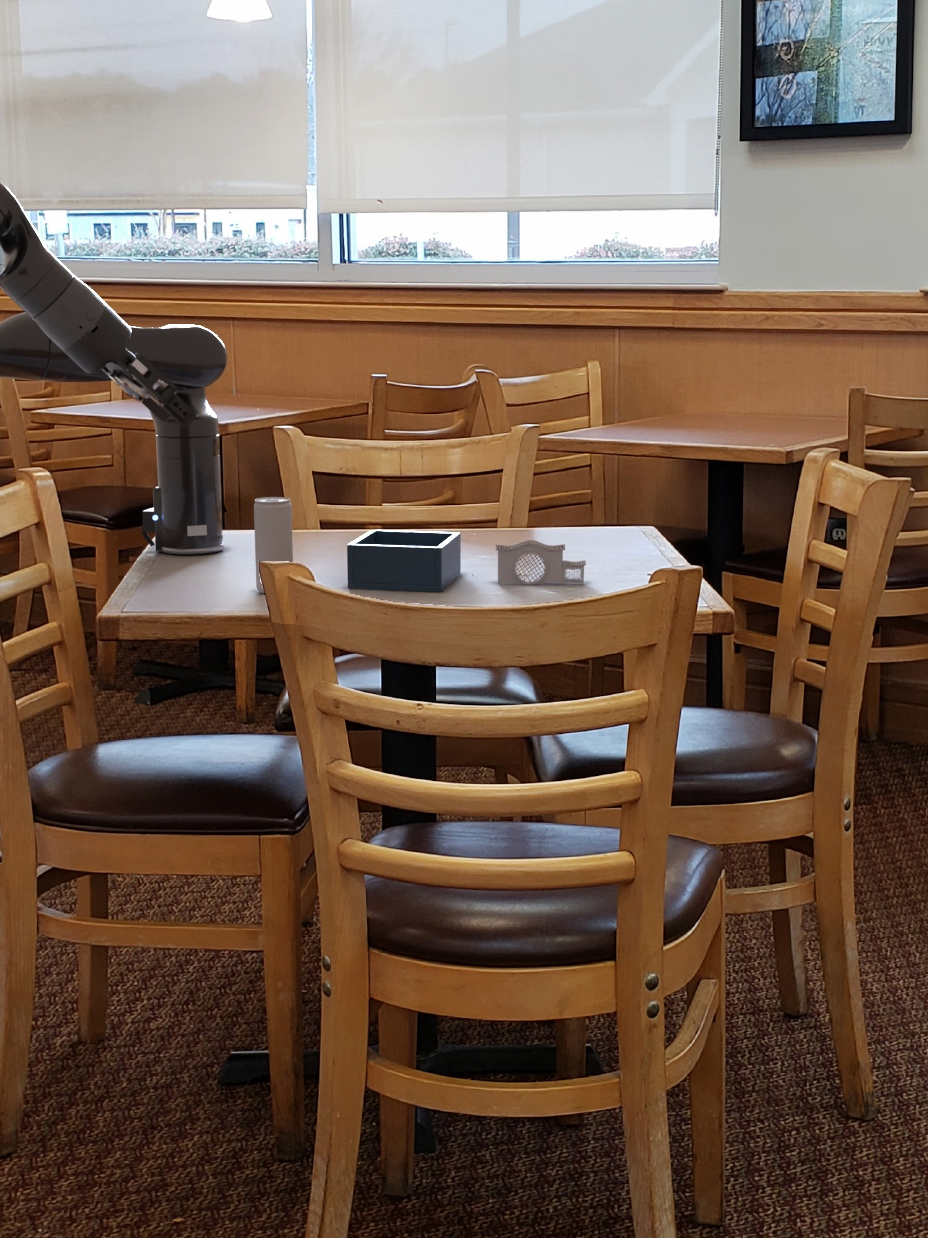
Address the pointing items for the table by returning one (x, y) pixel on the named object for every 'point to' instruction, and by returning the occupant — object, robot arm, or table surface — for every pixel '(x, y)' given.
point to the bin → (404, 560)
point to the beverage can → (272, 531)
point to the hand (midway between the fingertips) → (179, 418)
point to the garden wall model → (547, 553)
